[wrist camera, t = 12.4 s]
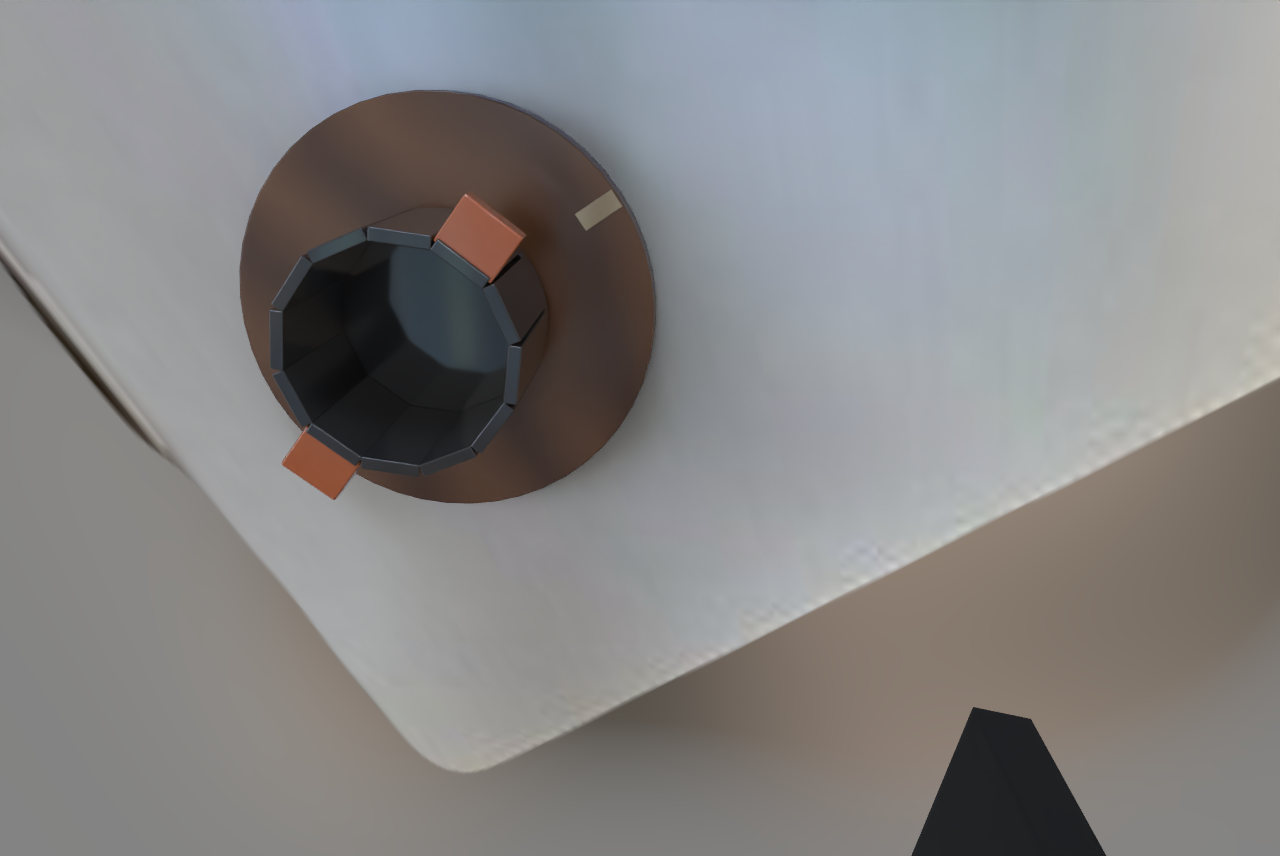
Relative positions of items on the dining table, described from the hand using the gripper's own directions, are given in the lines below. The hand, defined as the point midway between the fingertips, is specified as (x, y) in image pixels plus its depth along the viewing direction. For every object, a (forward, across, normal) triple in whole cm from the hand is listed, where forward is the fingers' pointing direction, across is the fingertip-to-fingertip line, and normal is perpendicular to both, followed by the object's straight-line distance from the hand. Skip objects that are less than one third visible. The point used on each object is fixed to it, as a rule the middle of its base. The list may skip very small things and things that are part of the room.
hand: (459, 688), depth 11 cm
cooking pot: (+27, -7, -3) cm, 28 cm away
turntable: (+29, -7, -3) cm, 30 cm away
